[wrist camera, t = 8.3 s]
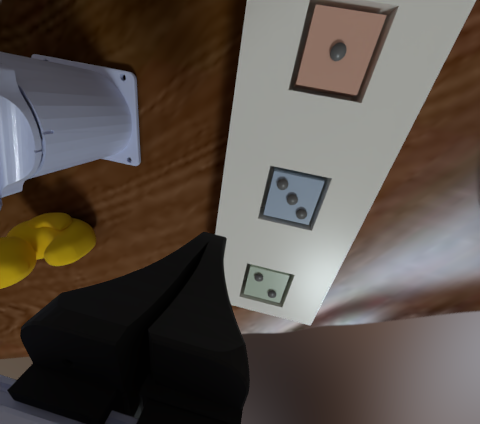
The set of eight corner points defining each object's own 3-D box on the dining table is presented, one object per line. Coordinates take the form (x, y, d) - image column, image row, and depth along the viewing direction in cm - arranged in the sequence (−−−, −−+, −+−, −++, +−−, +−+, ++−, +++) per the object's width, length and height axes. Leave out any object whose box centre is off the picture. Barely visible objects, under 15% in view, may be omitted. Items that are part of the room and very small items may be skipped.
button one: (293, 87, 16) (296, 83, 14) (310, 19, 14) (316, 2, 12) (346, 96, 16) (357, 95, 14) (370, 29, 14) (388, 13, 12)
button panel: (213, 279, 27) (206, 298, 24) (259, -27, 14) (254, -58, 11) (307, 303, 26) (310, 325, 23) (447, 1, 13) (489, -26, 11)
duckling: (42, 241, 29) (-61, 299, 20) (23, 205, 27) (-103, 253, 18) (116, 246, 27) (38, 312, 18) (103, 208, 25) (5, 263, 16)
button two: (246, 278, 25) (243, 295, 23) (253, 251, 24) (250, 267, 21) (279, 286, 25) (279, 304, 23) (288, 260, 23) (289, 277, 21)
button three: (264, 203, 21) (263, 215, 18) (274, 164, 19) (274, 171, 17) (305, 212, 20) (308, 226, 18) (319, 173, 19) (325, 182, 16)
